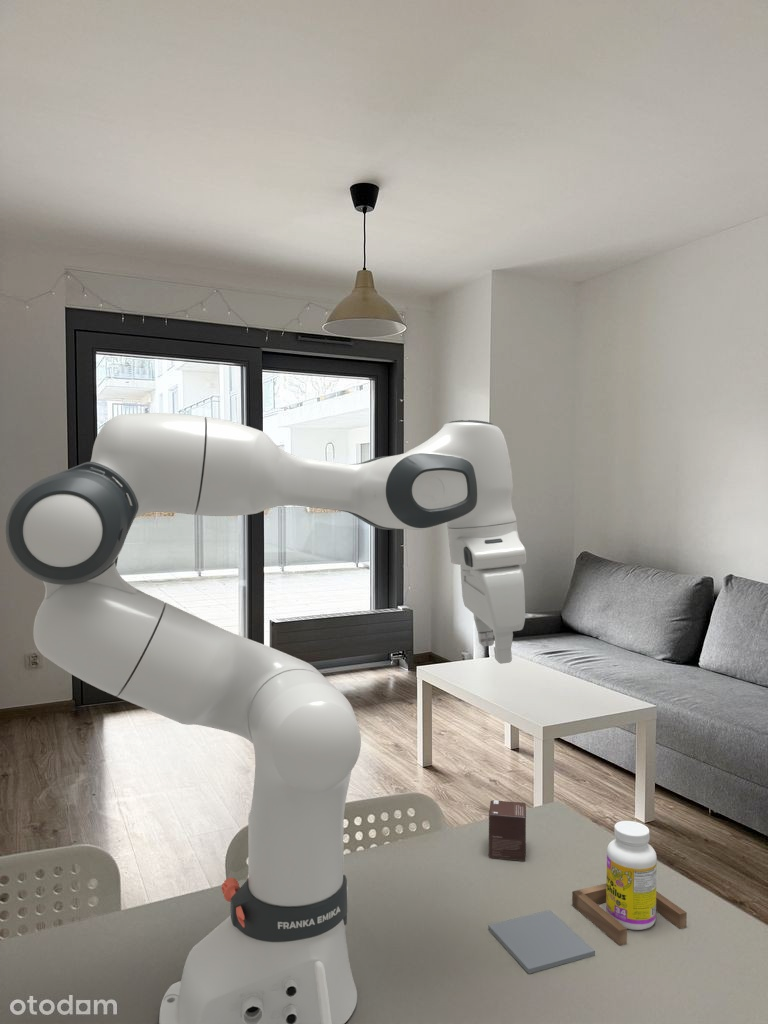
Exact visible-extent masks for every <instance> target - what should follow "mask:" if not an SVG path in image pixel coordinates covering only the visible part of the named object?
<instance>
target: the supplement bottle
mask: <svg viewBox="0 0 768 1024" xmlns="http://www.w3.org/2000/svg"><path fill="white" fill-rule="evenodd" d="M613 827H614V829H613V834H614V835H613V836H614V837H615V839H613V840H611V841H610V842H609V844H608V846H607V848H606V883H607V884H606V883H605V884H606V885H607V886H606V902H605V904H606V905H605V909H606V910H605V911H606V912H607V913H608V914H610V915H611V916H612V917H613V918H614V919H616V920H617V921H618V922H619V923H621V924H622V925H623V926H624V927H626V928H627V930H633V931H635V930H637V931H640V930H641V931H642V930H646V929H649V928H651V927H653V925H654V924H655V922H656V920H657V912H656V891H657V866H658V865H657V864H658V863H657V860H658V858H657V857H658V856H657V853H656V851H655V849H654V848H653V846H652V845H651V844H649V841H650V836H651V835H650V829H649V828H648V826H647V825H645V824H643V823H641V822H637V821H633V820H622V821H621V820H620V821H618V822H616V823H615V824H614V826H613Z"/></svg>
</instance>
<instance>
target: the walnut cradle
mask: <svg viewBox="0 0 768 1024" xmlns="http://www.w3.org/2000/svg"><path fill="white" fill-rule="evenodd" d="M606 884H607V882H606V883H603V884H597V885H594V886H590V887H585V888H581V889H577V890H573V891H572V894H571V895H572V899H571V901H572V902H571V904H572V906H573V907H574V908H575V909H576V910H577V911H578V912H580V913H581V914H582V915H583V916H584V917H585V918H587V919H588V920H589V921H590V922H591V923H593V925H595V926H596V928H598V929H600V930H601V931H602V932H603V933H604V934H605V935H607V936H608V938H610V939H611V940H612V941H614V942H615V943H616V944H617V945H618V946H623V945H626V944H628V928H626V927H624V926H623V925H622V924H621V923H619V922H618V921H617V920H616V919H614V918H613V917H612V916H611V915H610V914H608V913H607V911H606V910H605V909H604V908H603V907H601V906H600V905H601V904H604V903H605V904H606V886H607V885H606ZM656 913H658V914H659V915H660V916H662V917H663V918H664V919H666V920H667V921H669V922H670V923H671V924H672V925H674V926H675V927H677V929H679V930H680V929H684V928H687V922H688V921H687V918H688V917H687V916H688V915H687V912H686V910H684V909H682V908H681V907H680V906H678V905H677V904H675V903H674V902H673V901H671V900H670V899H669V898H667V897H666V896H664V895H662V894H661V893H660V892H659V891H657V890H656Z"/></svg>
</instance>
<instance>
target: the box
mask: <svg viewBox="0 0 768 1024" xmlns="http://www.w3.org/2000/svg"><path fill="white" fill-rule="evenodd" d="M489 802H490V803H489V804H490V805H489V811H488V857H489V858H491V859H497V858H498V859H501V860H508V861H509V860H510V861H511V860H512V861H520V862H521V861H522V862H524V861H526V860H527V859H526V857H527V856H526V855H527V854H526V853H527V847H526V846H527V842H526V841H527V837H526V836H527V832H526V831H527V830H526V828H527V805H526V802H523V801H522V802H519V801H507V800H490V801H489Z"/></svg>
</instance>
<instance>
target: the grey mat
mask: <svg viewBox="0 0 768 1024" xmlns="http://www.w3.org/2000/svg"><path fill="white" fill-rule="evenodd" d="M487 931H489V932H490V933H491V934H492V935H493V936H494V937H495V938H496V940H497V941H498V942H499V943H500V944H501V945H502V946H503V948H505V950H506V951H507V952H508V954H510V955H511V956H512V957H513V959H515V961H516V962H517V963H518V964H519V965H520V966H521V967H522V968H523V969H524V970H525V972H526V973H527V974H529V975H530V974H533V973H537V972H540V971H544V970H547V969H551V968H555V967H557V966H561V965H565V964H569V963H572V962H576V961H581V960H584V959H587V958H590V957H593V956H594V957H595V956H596V950H595V949H594V948H593V947H592V946H591V945H589V944H588V943H587V942H586V940H584V939H583V938H582V937H580V936H579V934H577V932H575V931H574V930H573V929H572V928H570V926H569V925H567V923H565V922H564V921H563V920H562V919H561V918H559V916H557V914H555V913H554V911H552V910H551V909H547V910H543V911H539V912H536V913H532V914H527V915H523V916H519V917H516V918H515V917H514V918H511V919H506V920H503V921H499V922H495V923H491V924H488V925H487Z"/></svg>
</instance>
